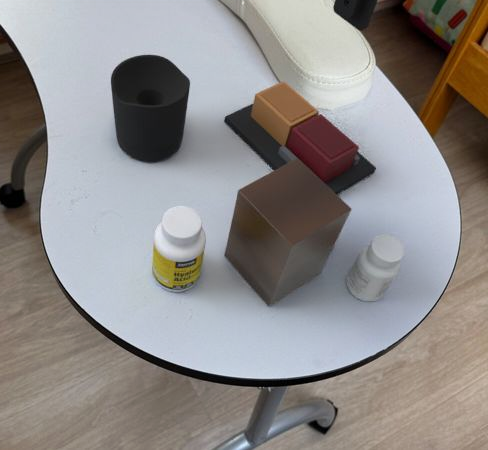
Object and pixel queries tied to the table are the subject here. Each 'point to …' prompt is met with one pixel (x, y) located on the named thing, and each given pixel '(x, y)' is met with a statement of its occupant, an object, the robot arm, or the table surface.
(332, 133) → the red lidded box
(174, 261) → the supplement bottle
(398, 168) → the table surface
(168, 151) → the pen holder
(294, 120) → the small orange-brown block
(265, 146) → the base mat
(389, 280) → the pill bottle
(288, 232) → the tall brown block
